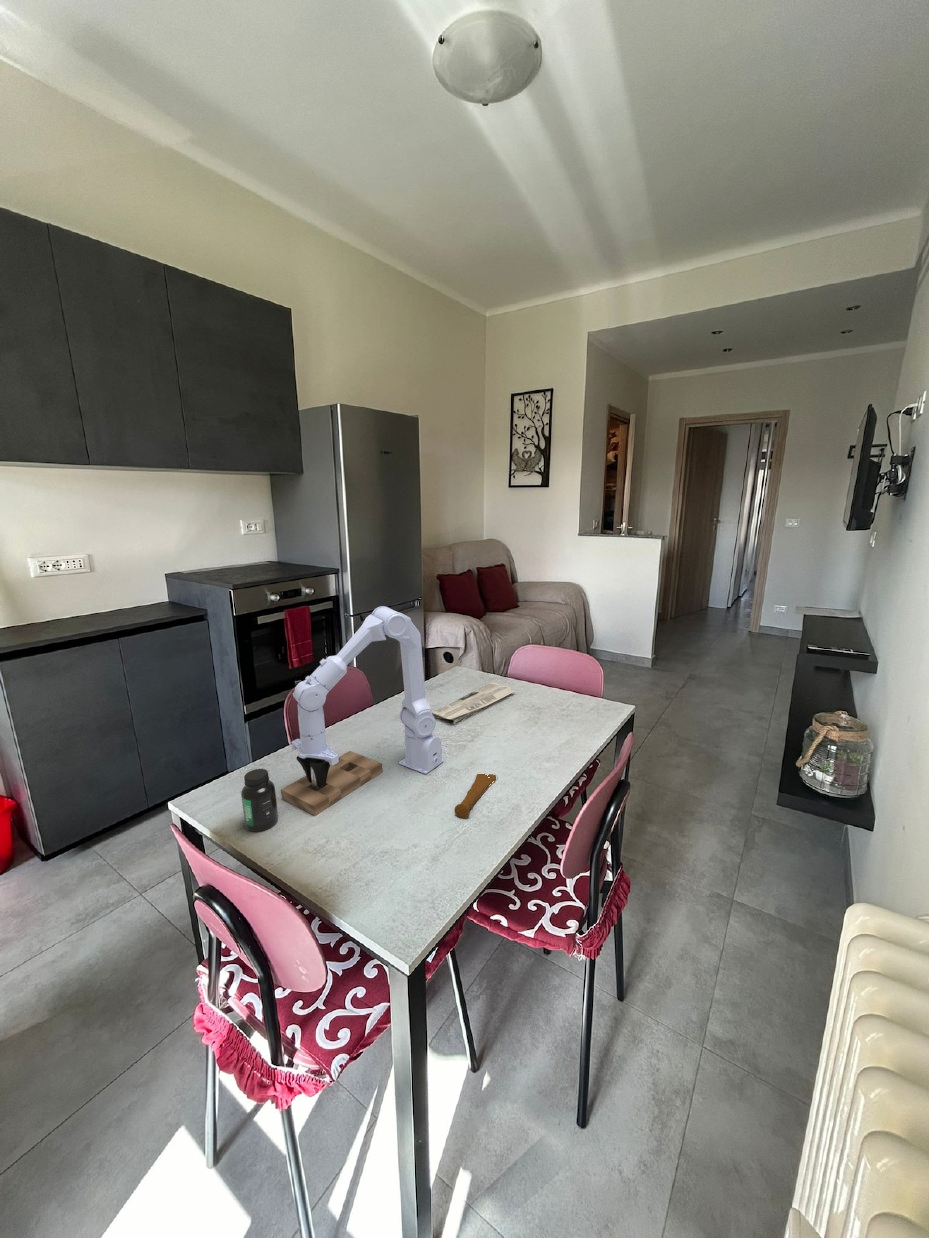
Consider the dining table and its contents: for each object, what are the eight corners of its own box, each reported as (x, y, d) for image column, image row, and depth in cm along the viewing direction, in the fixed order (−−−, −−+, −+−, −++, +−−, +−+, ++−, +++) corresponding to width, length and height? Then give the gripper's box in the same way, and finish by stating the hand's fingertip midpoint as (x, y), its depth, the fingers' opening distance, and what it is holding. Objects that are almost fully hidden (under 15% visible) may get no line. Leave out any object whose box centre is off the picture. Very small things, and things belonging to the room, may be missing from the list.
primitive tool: (478, 774, 128) (478, 761, 127) (498, 777, 126) (498, 765, 126) (453, 818, 111) (452, 804, 110) (476, 823, 109) (476, 809, 108)
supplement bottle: (249, 836, 105) (242, 786, 102) (242, 820, 110) (235, 772, 107) (282, 824, 109) (276, 775, 106) (273, 809, 114) (268, 762, 111)
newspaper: (489, 686, 187) (489, 678, 186) (517, 694, 180) (517, 685, 179) (427, 719, 160) (426, 709, 159) (457, 730, 153) (456, 719, 152)
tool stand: (382, 771, 129) (382, 763, 128) (315, 815, 111) (314, 806, 111) (350, 758, 136) (349, 750, 135) (281, 798, 118) (280, 789, 117)
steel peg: (326, 793, 120) (323, 763, 118) (317, 798, 118) (314, 768, 116) (319, 790, 121) (316, 760, 119) (310, 795, 119) (307, 765, 117)
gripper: (278, 729, 116) (284, 781, 119) (319, 746, 108) (324, 800, 112) (303, 718, 122) (308, 768, 125) (343, 733, 114) (347, 785, 117)
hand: (317, 782), depth 119 cm, fingers closed on steel peg, 3 cm apart
